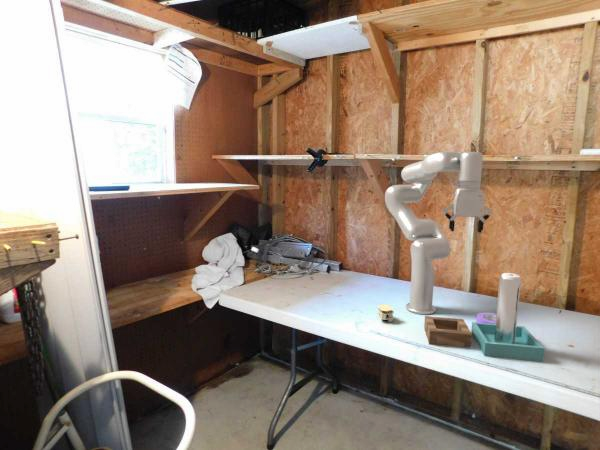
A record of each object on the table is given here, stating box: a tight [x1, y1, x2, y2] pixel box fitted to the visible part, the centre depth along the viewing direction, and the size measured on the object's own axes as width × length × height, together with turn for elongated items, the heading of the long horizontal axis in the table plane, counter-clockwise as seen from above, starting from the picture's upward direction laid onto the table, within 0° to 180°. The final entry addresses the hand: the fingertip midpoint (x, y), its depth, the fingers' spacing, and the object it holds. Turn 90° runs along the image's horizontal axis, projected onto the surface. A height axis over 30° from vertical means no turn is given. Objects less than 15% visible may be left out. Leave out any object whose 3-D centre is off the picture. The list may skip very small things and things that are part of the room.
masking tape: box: [476, 312, 496, 324], centre depth 155 cm, size 12×12×4 cm
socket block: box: [423, 315, 473, 349], centre depth 144 cm, size 14×14×5 cm
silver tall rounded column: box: [494, 272, 522, 344], centre depth 136 cm, size 6×6×25 cm
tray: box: [470, 321, 546, 362], centre depth 137 cm, size 18×18×4 cm
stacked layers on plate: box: [377, 304, 395, 323], centre depth 160 cm, size 10×9×6 cm
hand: (465, 231), depth 147 cm, fingers open, 9 cm apart
